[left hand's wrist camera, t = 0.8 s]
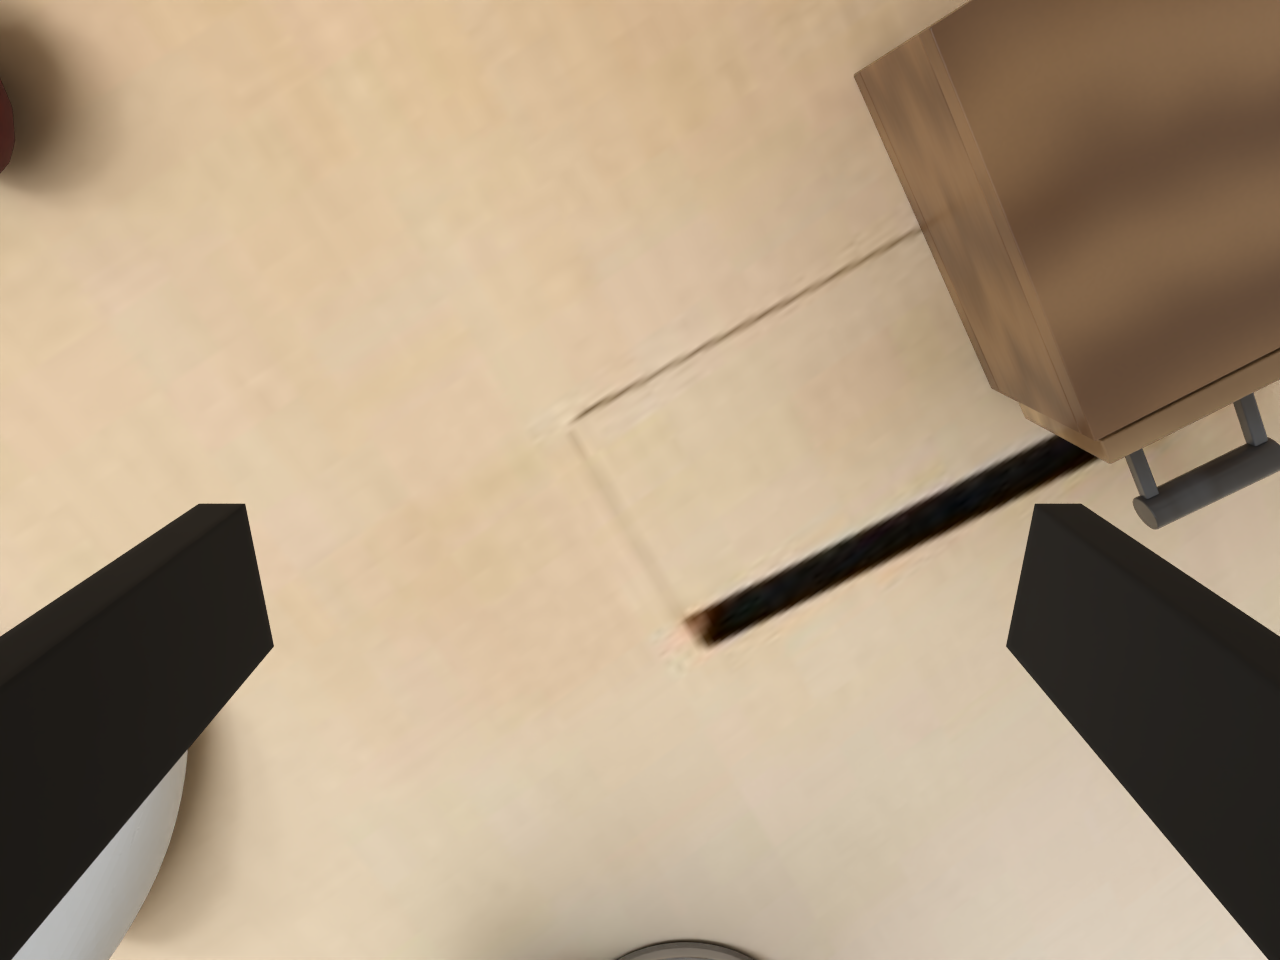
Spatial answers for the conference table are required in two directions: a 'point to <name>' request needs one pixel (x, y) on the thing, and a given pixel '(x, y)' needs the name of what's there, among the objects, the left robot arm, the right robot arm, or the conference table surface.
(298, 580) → the conference table surface
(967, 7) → the cabinet
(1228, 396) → the drawer
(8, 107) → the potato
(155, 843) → the projector
